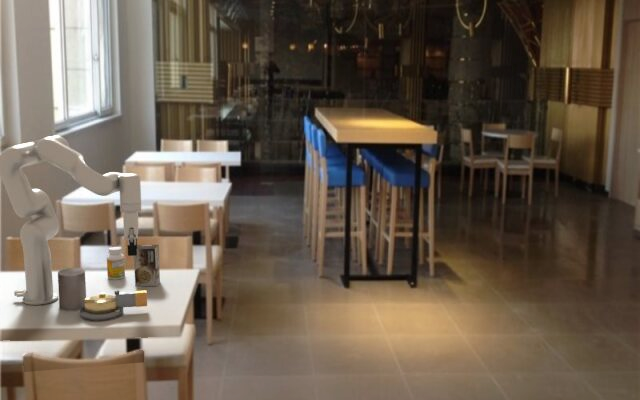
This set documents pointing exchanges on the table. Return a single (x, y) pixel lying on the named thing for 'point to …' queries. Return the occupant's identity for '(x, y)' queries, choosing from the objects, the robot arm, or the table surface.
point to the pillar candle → (71, 288)
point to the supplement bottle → (115, 263)
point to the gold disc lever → (114, 301)
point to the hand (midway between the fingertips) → (132, 252)
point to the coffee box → (147, 265)
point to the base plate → (101, 315)
